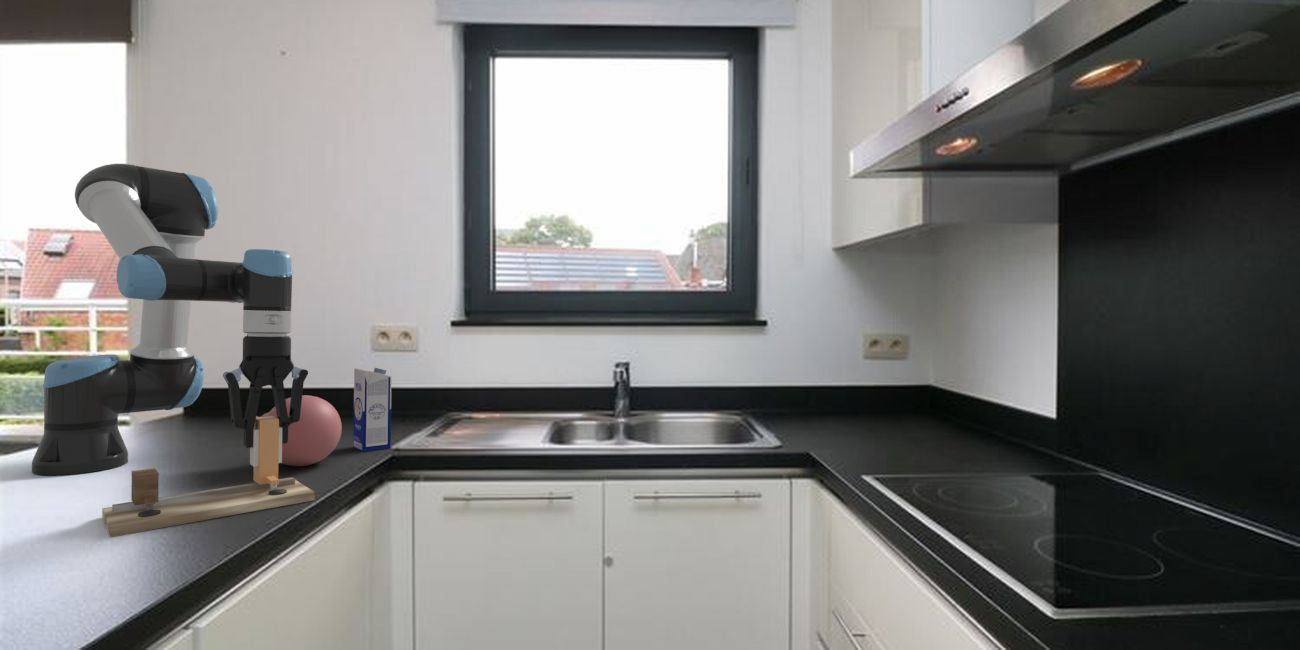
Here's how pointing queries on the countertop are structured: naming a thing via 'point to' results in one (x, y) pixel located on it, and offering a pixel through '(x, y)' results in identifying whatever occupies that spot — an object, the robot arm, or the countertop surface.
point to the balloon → (310, 432)
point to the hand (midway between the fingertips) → (265, 463)
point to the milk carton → (372, 410)
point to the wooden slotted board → (194, 503)
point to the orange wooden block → (267, 451)
